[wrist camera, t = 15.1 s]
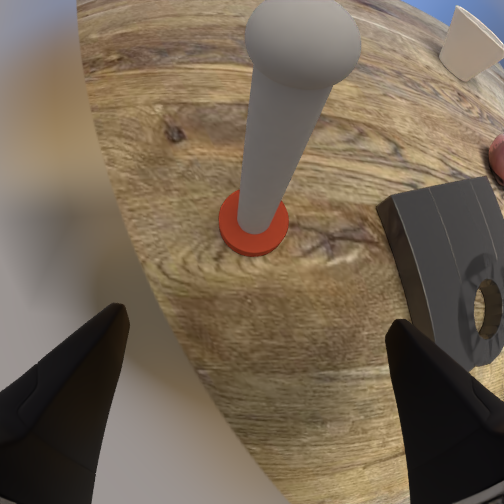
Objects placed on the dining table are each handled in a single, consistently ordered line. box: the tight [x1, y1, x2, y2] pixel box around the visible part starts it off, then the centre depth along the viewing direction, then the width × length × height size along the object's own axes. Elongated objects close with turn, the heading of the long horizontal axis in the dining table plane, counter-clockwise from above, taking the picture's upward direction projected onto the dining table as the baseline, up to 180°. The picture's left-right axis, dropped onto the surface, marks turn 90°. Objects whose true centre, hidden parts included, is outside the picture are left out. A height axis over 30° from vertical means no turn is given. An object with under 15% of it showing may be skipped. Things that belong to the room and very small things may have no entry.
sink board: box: [376, 176, 504, 372], centre depth 18 cm, size 16×17×2 cm
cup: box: [439, 5, 504, 82], centre depth 23 cm, size 12×12×12 cm
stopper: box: [219, 0, 361, 257], centre depth 11 cm, size 5×5×16 cm
